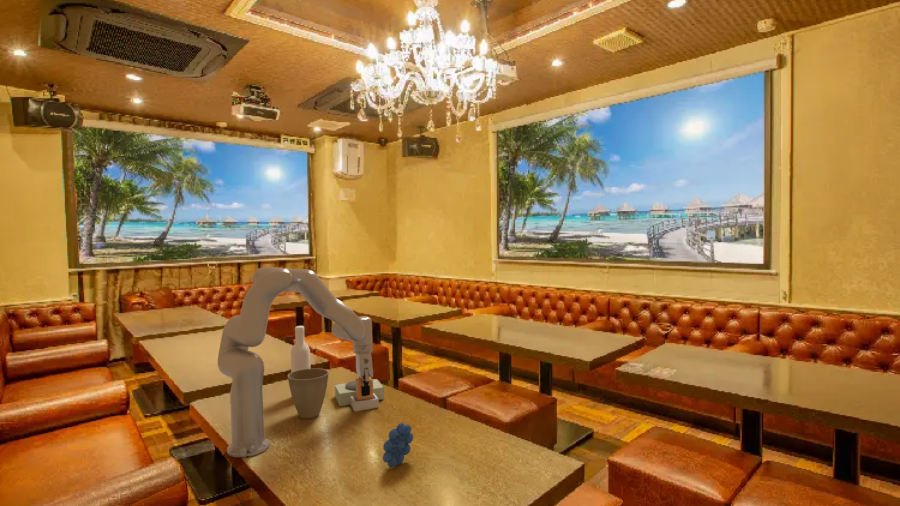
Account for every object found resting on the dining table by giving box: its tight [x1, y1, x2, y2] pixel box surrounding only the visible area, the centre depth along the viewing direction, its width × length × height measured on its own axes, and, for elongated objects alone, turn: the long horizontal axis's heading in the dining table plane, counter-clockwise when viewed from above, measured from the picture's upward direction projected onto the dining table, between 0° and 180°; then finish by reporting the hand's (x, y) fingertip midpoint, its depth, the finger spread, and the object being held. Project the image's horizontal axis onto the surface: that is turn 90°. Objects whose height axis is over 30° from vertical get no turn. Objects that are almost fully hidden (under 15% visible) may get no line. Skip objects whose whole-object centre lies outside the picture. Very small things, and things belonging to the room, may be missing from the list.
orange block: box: [354, 376, 373, 400], centre depth 184 cm, size 4×6×7 cm
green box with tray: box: [334, 378, 385, 412], centre depth 190 cm, size 20×18×6 cm
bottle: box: [290, 325, 311, 373], centre depth 196 cm, size 8×8×30 cm
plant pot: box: [287, 367, 329, 420], centre depth 176 cm, size 15×15×16 cm
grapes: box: [382, 422, 414, 468], centre depth 138 cm, size 12×7×12 cm, turn 140°
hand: (364, 392), depth 184 cm, fingers closed on orange block, 4 cm apart
